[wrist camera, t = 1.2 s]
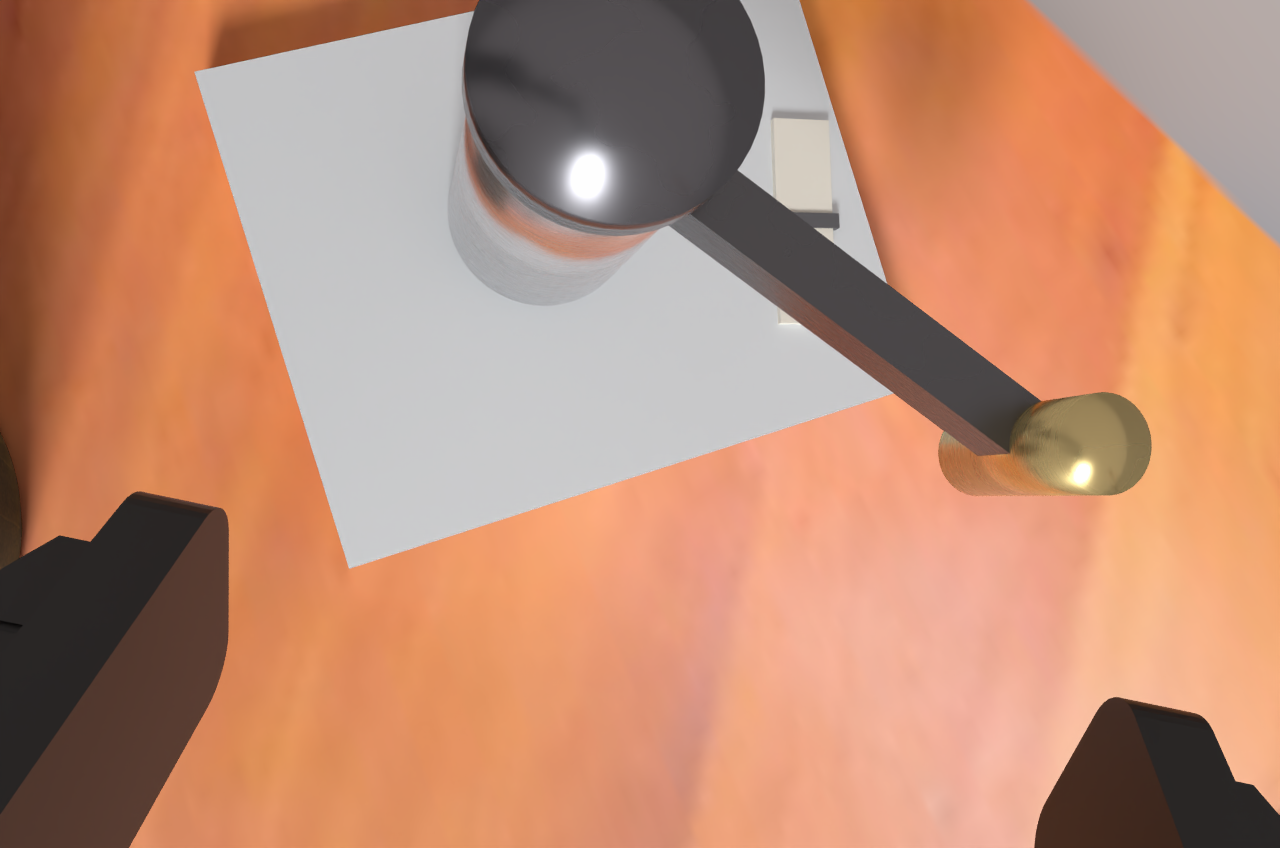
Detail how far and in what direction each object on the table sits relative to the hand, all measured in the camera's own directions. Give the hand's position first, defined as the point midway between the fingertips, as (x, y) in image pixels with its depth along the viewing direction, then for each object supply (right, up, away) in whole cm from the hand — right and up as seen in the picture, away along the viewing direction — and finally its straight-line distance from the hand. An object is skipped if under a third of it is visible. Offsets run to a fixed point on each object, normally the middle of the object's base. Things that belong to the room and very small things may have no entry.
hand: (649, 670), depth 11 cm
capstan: (+2, +6, +28) cm, 28 cm away
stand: (-3, +8, +29) cm, 31 cm away
